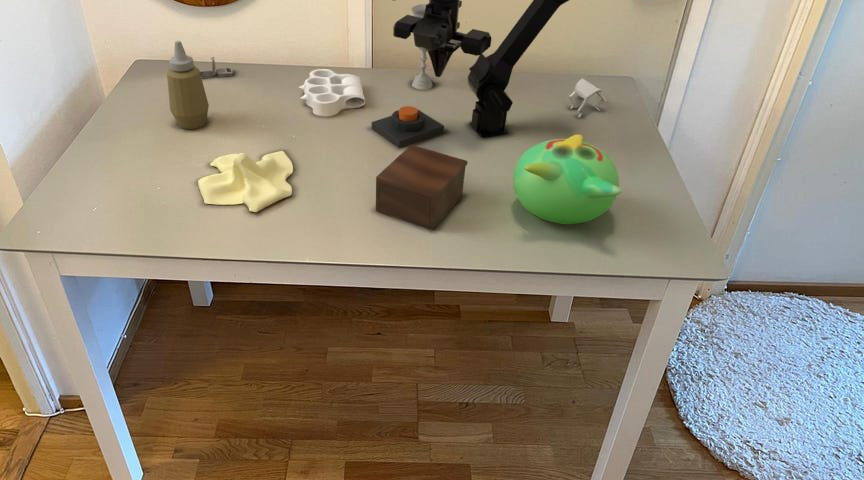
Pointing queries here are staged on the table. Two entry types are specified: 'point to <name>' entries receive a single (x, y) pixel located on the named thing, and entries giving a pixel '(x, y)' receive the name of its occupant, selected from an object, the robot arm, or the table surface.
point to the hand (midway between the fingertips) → (438, 76)
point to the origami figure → (587, 93)
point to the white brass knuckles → (332, 92)
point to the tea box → (418, 203)
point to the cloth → (248, 181)
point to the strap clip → (220, 72)
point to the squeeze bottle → (186, 91)
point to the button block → (407, 129)
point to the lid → (422, 171)
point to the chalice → (421, 79)
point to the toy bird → (566, 181)
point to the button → (408, 113)
